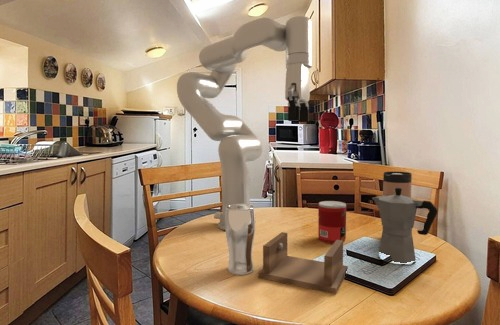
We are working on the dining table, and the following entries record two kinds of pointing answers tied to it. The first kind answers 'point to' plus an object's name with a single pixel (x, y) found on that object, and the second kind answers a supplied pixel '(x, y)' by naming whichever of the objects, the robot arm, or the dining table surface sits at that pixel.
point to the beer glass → (240, 237)
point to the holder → (303, 266)
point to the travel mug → (397, 183)
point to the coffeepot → (401, 224)
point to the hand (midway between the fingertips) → (298, 121)
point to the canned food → (331, 221)
